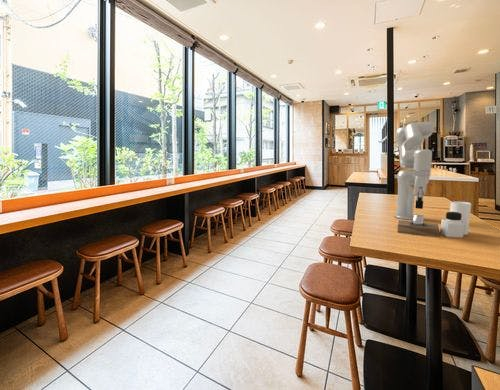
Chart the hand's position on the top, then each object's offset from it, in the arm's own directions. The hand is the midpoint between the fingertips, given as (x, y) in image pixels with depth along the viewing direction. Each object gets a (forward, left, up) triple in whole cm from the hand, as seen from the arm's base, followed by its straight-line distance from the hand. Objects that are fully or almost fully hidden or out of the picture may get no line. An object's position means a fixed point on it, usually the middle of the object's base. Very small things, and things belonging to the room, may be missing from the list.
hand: (419, 207), depth 135 cm
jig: (0, 0, -13) cm, 13 cm away
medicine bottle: (0, +14, -13) cm, 20 cm away
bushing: (0, 0, -13) cm, 13 cm away
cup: (-8, +18, -13) cm, 24 cm away
